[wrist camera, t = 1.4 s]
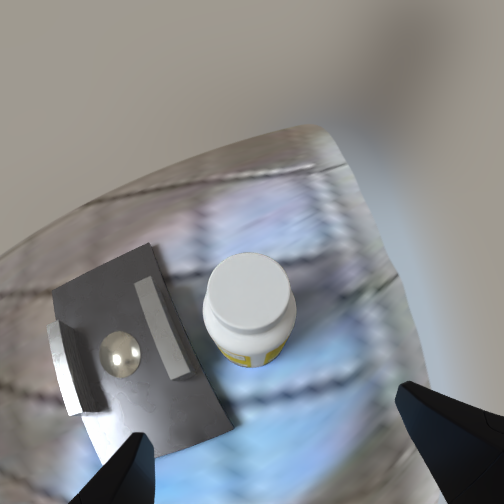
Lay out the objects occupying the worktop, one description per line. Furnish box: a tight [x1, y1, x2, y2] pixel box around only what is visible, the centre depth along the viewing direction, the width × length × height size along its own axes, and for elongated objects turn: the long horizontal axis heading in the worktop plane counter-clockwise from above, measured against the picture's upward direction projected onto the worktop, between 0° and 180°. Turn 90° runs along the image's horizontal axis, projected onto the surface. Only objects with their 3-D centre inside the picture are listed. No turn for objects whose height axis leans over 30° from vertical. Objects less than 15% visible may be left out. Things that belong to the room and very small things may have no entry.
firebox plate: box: [47, 243, 234, 465], centre depth 18 cm, size 18×12×3 cm, turn 28°
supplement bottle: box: [203, 252, 296, 368], centre depth 17 cm, size 5×5×10 cm
